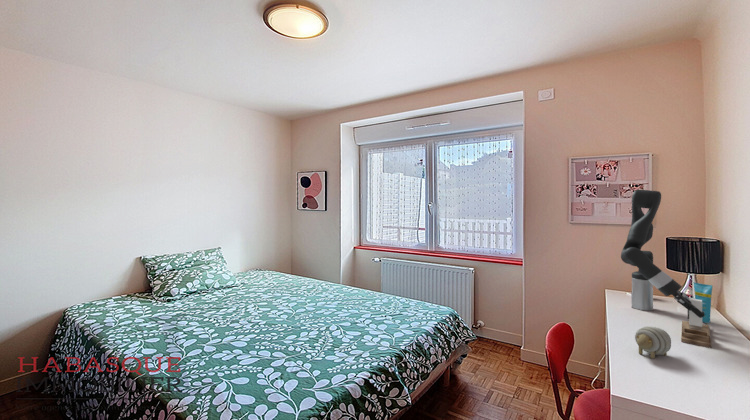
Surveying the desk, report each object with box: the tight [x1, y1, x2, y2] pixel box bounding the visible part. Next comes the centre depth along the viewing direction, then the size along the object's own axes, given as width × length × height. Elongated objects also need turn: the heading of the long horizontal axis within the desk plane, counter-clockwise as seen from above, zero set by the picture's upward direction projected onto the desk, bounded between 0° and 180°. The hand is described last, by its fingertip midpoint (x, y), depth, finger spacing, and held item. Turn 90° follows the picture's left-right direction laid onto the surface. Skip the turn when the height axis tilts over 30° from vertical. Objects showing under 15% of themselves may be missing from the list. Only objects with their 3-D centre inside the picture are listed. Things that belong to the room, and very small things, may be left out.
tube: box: [693, 282, 713, 324], centre depth 159 cm, size 7×5×19 cm, turn 23°
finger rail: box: [680, 313, 712, 349], centre depth 144 cm, size 9×28×12 cm, turn 135°
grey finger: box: [687, 297, 703, 327], centre depth 138 cm, size 4×3×11 cm, turn 45°
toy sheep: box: [634, 326, 672, 360], centre depth 126 cm, size 11×17×11 cm, turn 114°
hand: (702, 315), depth 136 cm, fingers closed on grey finger, 3 cm apart
